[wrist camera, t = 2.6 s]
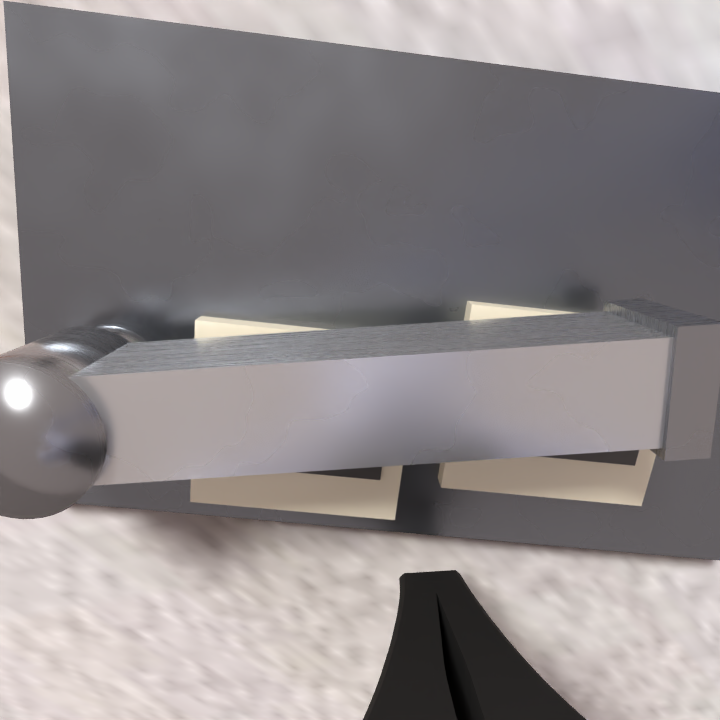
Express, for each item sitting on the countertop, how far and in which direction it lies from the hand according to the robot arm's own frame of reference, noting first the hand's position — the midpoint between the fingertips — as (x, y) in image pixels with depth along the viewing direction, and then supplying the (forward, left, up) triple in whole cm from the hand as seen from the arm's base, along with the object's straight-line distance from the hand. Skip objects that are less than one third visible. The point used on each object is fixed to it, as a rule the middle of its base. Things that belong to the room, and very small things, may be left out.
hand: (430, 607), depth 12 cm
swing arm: (+3, -5, -1) cm, 6 cm away
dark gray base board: (+1, -6, -2) cm, 7 cm away
